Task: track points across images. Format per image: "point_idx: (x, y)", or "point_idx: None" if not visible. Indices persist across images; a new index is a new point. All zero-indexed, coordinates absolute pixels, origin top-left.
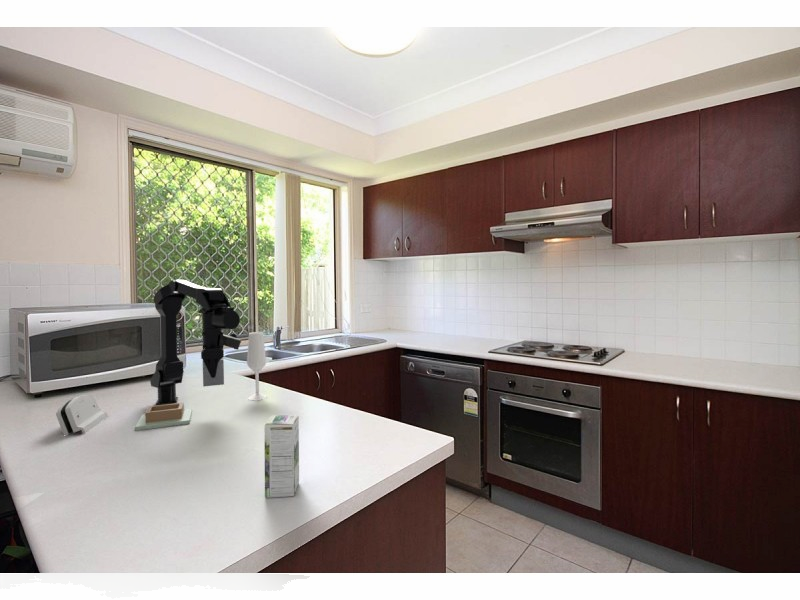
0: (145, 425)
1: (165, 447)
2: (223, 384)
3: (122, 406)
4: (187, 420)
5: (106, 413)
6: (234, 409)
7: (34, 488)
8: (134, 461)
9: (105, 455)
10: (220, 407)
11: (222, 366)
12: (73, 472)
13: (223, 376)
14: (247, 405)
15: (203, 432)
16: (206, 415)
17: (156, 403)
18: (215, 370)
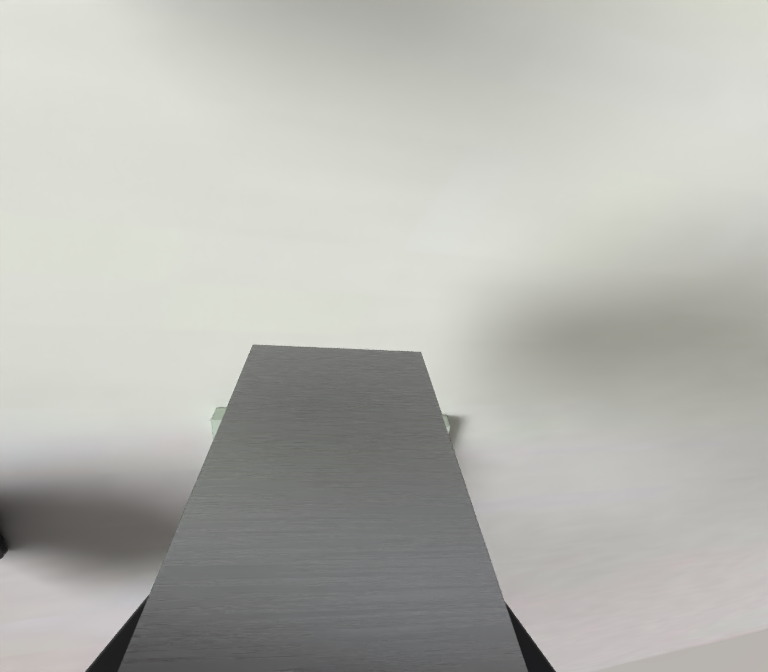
0: None
1: (687, 472)
2: (420, 358)
3: (3, 635)
4: (448, 433)
5: None
6: (277, 162)
7: (705, 634)
8: (729, 526)
9: (611, 582)
10: (173, 254)
11: (499, 620)
12: (676, 607)
13: (445, 426)
14: (186, 22)
15: (632, 364)
16: (339, 343)
17: (2, 556)
18: (515, 627)
